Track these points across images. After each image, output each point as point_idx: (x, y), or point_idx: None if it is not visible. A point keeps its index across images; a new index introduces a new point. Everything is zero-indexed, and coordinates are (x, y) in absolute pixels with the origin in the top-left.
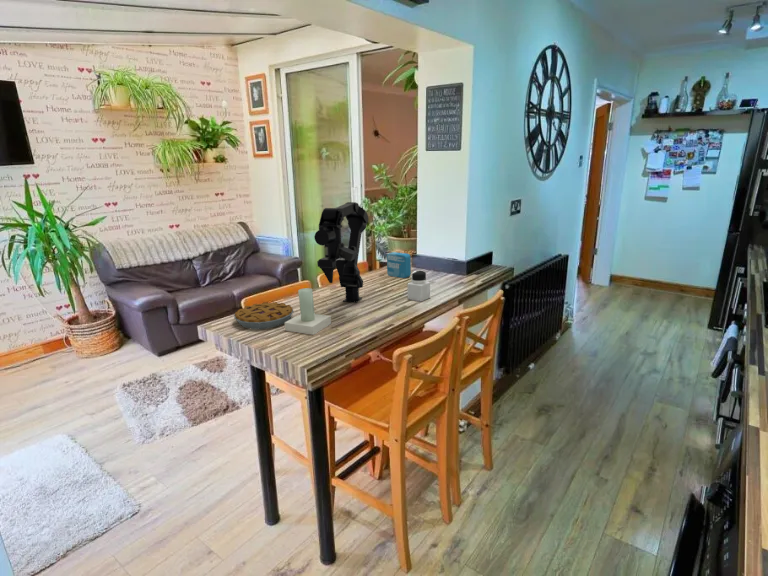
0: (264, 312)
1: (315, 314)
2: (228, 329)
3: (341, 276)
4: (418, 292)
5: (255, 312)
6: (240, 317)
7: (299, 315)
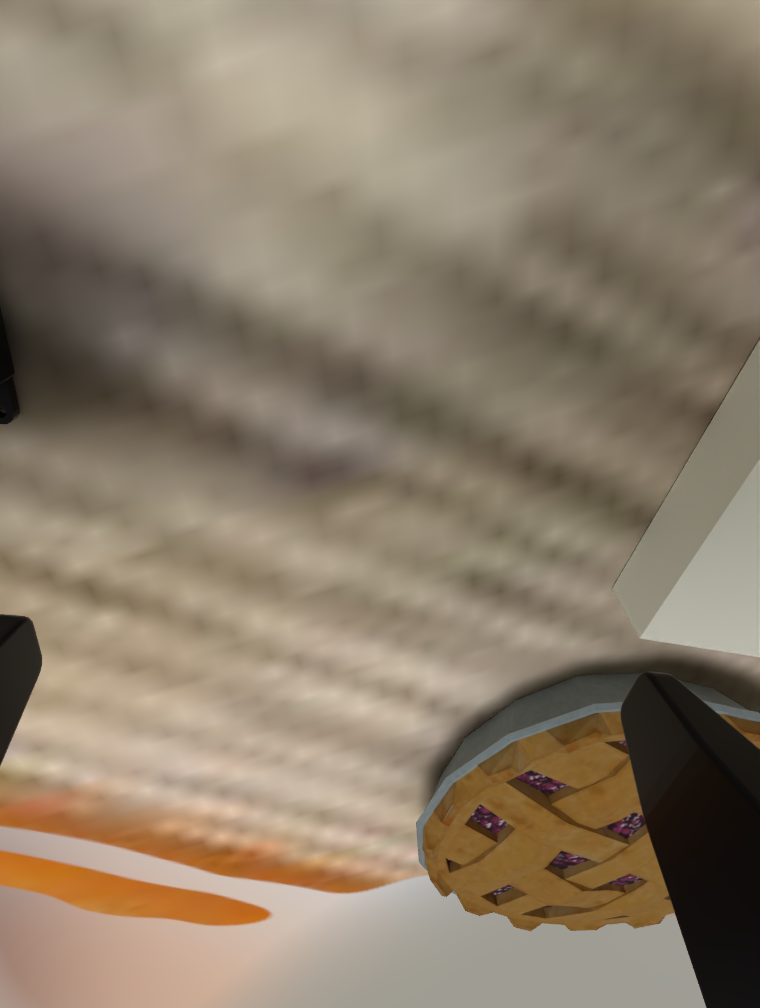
0: None
1: (730, 526)
2: None
3: (18, 643)
4: None
5: None
6: None
7: (730, 639)
